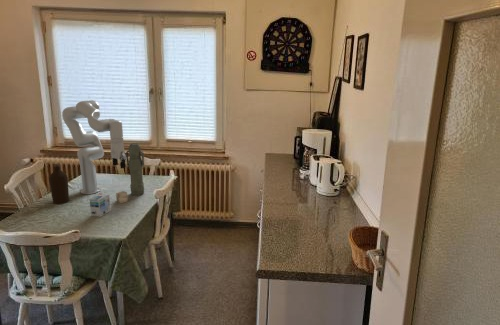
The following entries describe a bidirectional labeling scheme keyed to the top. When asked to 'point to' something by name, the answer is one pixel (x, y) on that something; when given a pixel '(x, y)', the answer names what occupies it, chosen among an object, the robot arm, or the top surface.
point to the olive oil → (59, 186)
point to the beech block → (121, 196)
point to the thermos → (135, 169)
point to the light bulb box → (100, 205)
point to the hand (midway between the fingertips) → (119, 166)
